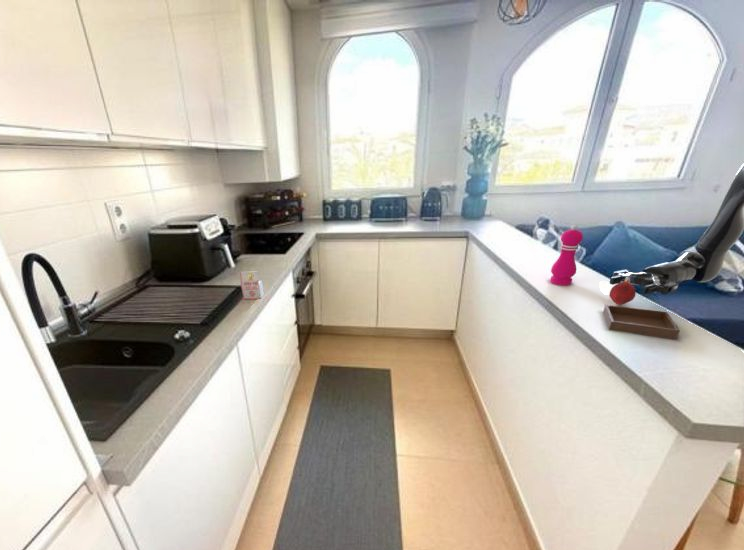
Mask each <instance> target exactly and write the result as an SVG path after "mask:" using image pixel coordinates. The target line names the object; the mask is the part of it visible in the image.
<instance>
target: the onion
mask: <svg viewBox="0 0 744 550" xmlns="http://www.w3.org/2000/svg"><path fill="white" fill-rule="evenodd" d="M624 280H625V279H624ZM629 282H631V280H630V281H629V280H628V279H627V280H625V281H624V282H622V283H617V284H614V285H612V287H611V289H610V291H609V298H610V299H611V301H612V302H613V303H614V304H615V305H616V306H621V305H625V304H627V303H630V302H632V301H633V300H634V299H635V298H636V292H637V291H636V288H635V286H634V285H631V284H630V283H629Z"/></svg>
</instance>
